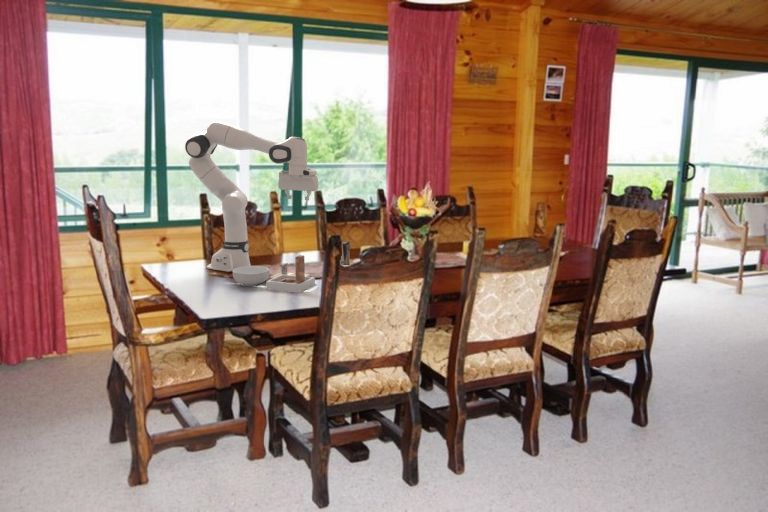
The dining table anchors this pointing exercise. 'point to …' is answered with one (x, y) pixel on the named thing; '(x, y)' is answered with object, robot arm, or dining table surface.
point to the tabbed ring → (297, 271)
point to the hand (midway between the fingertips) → (298, 199)
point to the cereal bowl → (251, 275)
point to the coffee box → (345, 253)
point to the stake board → (285, 271)
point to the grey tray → (289, 284)
